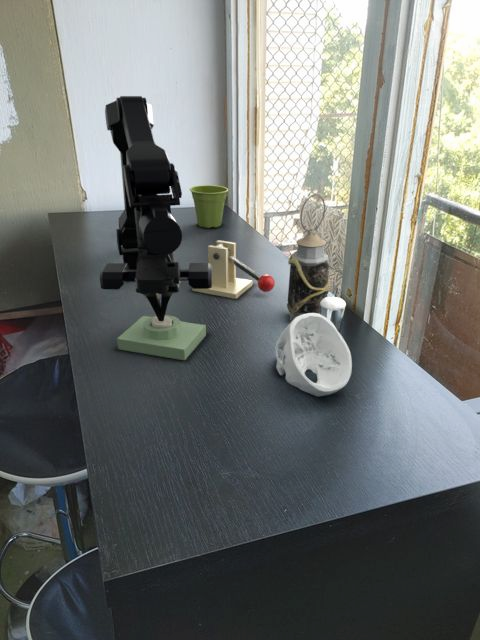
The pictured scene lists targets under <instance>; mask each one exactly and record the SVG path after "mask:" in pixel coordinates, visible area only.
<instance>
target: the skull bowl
mask: <svg viewBox="0 0 480 640" xmlns="http://www.w3.org/2000/svg"><path fill="white" fill-rule="evenodd" d="M279 350H280V353H279ZM274 352H275V357H276V366H275V368H276V370H277V372H278V374H279V375H280V376H283V375H285V381H286V382H287V383H288V384H290V385H291V386H294V387H295V388H298V389H299V390H301V391H303V392H305V393H308V394H310V395H312V396H315V397H318V398H319V397H320V398H321V397H323V396H324V397H325V396H330V395H332V394H335V393H337V392H339V391H341V390H342V389H343V388H344V387H345V386H346V385H348V382H349V381H350V378H351V376H352V371H353V369H352V367H353V362H352V361H353V360H352V359H353V358H352V354H351V351H350V348H349V345H348V344H347V342H346V341H345V339H344V337H343V336H342V334H341V332H340V333H339V332H338V331H337V329H336V327H335V326H334V325H333V323H332V322H331V321H330V320H329V319H328V318H326V317H324V316H322V315H320V314H318V313H307V314H303V315H300V316H297V317H296V318H295V319H294V320H293V321H290V322H289V324H288V325H287V327H286V328H285V329H284V330H283V331H282V332H281V334H280V336H279V339H278V340H277V341H276V343H275V345H274ZM279 354H280V355H279ZM309 370H310V371H311V372H312V373H313V374H315V375H316V380H317V381H315V382H314V381H312V380H310V378H308V377H307V375H306V371H309Z"/></svg>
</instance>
